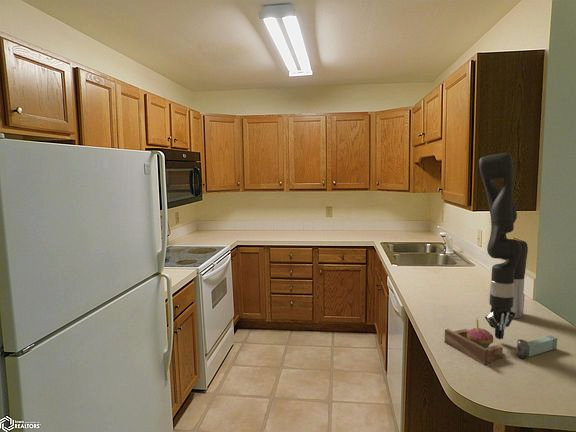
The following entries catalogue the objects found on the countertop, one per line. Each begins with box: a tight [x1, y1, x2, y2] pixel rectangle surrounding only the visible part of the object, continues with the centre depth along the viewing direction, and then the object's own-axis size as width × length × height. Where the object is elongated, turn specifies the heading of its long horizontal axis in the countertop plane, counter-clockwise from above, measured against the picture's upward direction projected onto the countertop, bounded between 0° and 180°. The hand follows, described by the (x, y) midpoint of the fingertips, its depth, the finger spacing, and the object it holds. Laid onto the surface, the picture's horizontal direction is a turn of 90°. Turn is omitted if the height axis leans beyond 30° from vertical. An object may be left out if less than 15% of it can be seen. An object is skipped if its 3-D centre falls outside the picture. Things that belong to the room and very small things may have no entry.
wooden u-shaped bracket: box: [444, 328, 504, 366], centre depth 132 cm, size 9×17×5 cm, turn 22°
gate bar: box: [527, 335, 558, 357], centre depth 130 cm, size 14×2×4 cm, turn 112°
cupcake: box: [467, 318, 494, 348], centre depth 133 cm, size 9×8×12 cm
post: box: [516, 339, 529, 360], centre depth 127 cm, size 3×3×6 cm
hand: (499, 338), depth 137 cm, fingers closed
